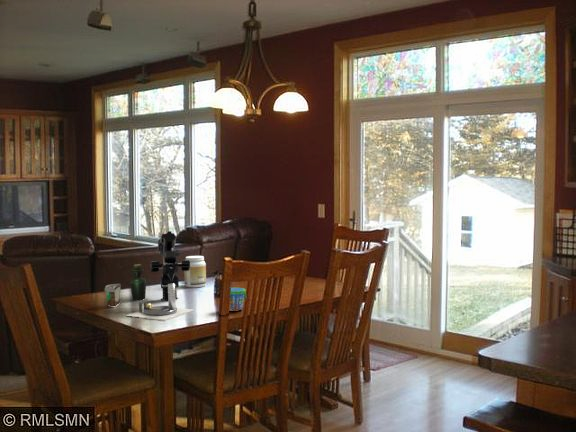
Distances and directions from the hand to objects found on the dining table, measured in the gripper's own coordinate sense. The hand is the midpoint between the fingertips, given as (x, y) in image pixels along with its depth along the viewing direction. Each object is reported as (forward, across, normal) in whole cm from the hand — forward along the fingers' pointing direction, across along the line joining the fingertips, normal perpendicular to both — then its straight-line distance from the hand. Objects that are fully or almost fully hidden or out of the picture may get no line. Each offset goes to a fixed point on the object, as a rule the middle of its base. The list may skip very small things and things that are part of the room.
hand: (171, 280), depth 311 cm
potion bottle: (-9, -15, +29) cm, 34 cm away
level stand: (+18, -6, +1) cm, 19 cm away
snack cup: (+20, +28, -2) cm, 35 cm away
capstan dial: (+18, -6, +1) cm, 19 cm away
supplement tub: (-30, +18, +50) cm, 61 cm away
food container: (0, -28, +20) cm, 35 cm away
